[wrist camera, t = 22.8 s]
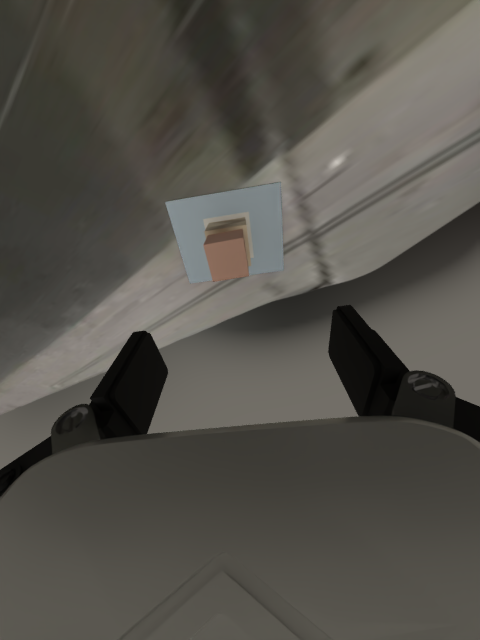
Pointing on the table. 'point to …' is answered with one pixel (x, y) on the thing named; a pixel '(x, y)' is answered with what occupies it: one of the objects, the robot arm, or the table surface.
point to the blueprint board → (250, 203)
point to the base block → (230, 226)
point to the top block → (226, 255)
